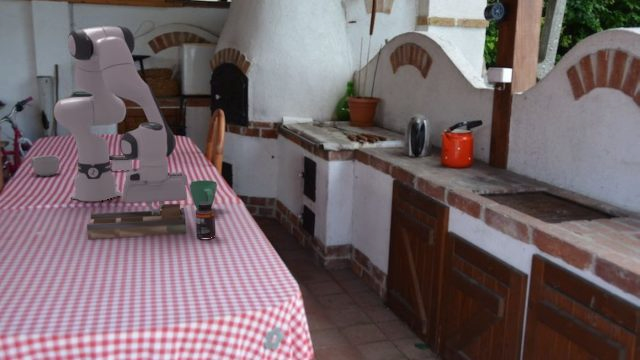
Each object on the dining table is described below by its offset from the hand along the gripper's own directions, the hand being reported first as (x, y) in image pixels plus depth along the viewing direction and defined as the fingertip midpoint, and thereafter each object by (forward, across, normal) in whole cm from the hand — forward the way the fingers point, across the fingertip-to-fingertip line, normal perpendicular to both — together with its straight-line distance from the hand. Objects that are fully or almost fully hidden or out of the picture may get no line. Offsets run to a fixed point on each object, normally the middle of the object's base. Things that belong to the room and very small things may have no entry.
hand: (156, 214), depth 207 cm
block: (+2, -5, 0) cm, 5 cm away
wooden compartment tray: (+5, +6, 0) cm, 8 cm away
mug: (+5, -17, -18) cm, 26 cm away
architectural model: (+5, +16, -95) cm, 97 cm away
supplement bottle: (+5, -15, +12) cm, 20 cm away
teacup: (+5, +49, -92) cm, 104 cm away
